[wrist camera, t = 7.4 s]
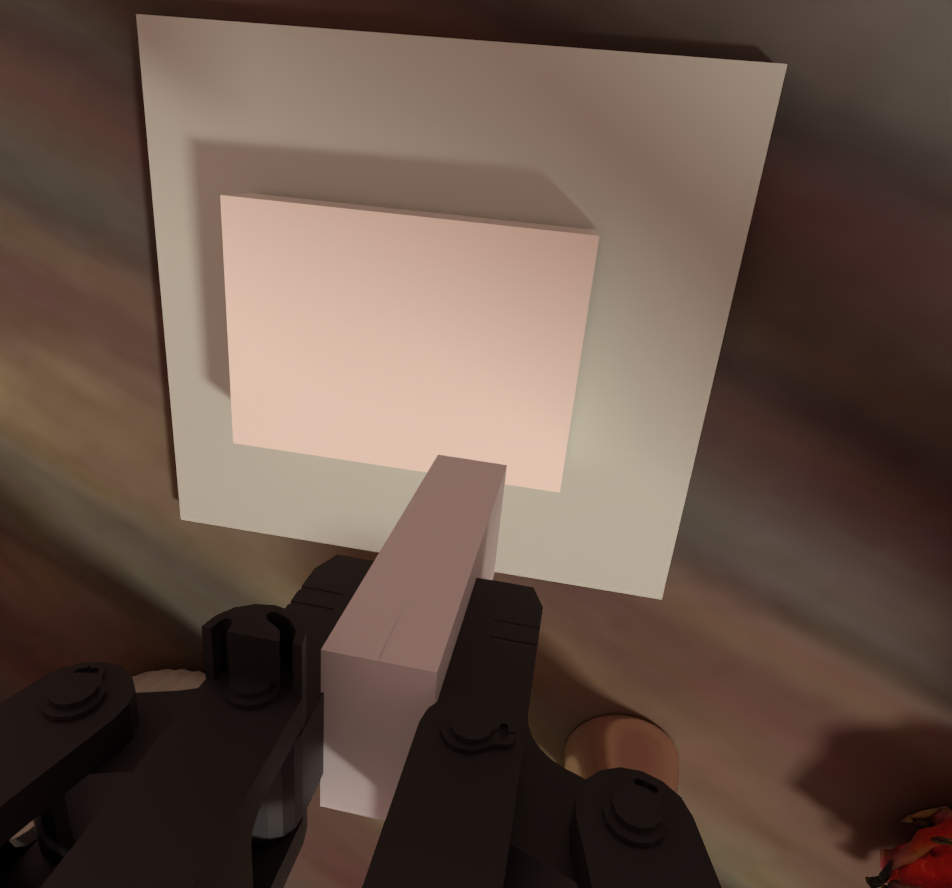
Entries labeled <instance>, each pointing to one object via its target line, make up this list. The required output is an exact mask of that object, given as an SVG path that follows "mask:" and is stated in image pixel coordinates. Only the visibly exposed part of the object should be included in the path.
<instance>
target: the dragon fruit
mask: <svg viewBox="0 0 952 888" xmlns="http://www.w3.org/2000/svg"><path fill="white" fill-rule="evenodd" d="M900 822H905V823H907V822H911V823H913V824H917V825H919V826H921V827H927V828H924V829H920V830H918V831H917V832H916V834H915V835H914V837H913V839H912V840H911V841H910V842H909V843H905V844H902V845H898V846H896V847H894V848H893V849H881V850H880V865H881V869H882V871H881V872H880V874H879V876H876V877H865V878H866V882H867V884H868V885H869V886H870V887H871V888H877V887H880V886H881V888H952V810H950V809H949V807H948V806H941V807H938V808H933V809H926V810H922V811H918V812H917V813H915V814H911V815H908V816H907V817H906V818H904V819H902V820H900ZM884 883H888V885H884ZM882 884H883V885H882Z"/></svg>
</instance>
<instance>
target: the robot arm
mask: <svg viewBox="0 0 952 888" xmlns="http://www.w3.org/2000/svg"><path fill="white" fill-rule="evenodd" d="M506 469H507V465H502V464H496V463H489V462H483V461H476V460H470V459H463V458H457V457H450V456H444V455H438V456H437V457H436V459H435V461H434V462H433V464H432V466H431V467H430V469H429V471H428V472H427V474H426V476H425V477H424V479H423V481H422V482H421V484H420V486H419V487H418V489H417V491H416V492H415V494H414V496H413V497H412V499H411V501H410V502H409V504H408V506H407V507H406V509H405V511H404V512H403V514H402V516H401V517H400V519H399V521H398V522H397V524H396V526H395V527H394V529H393V531H392V532H391V534H390V536H389V537H388V539H387V541H386V542H385V544H384V546H383V547H382V549H381V551H380V552H379V554H378V556H377V557H376V559H375V561H369V560H363V559H357V558H352V557H346V556H341V555H336V556H335V557H333V558H331V559H330V560H328V561H326V562H325V563H323V564H321V565H320V566H318V567H316V568H315V569H314V570H313V572H312V573H311V574H310V576H309V577H308V578H307V580H306V581H305V582H304V584H303V585H302V588H301V590H300V589H299V591H298V592H297V593H296V595H295V596H294V597H293V599H292V600H291V603H290V605H289V604H288V605H287V607H286V608H285V609H284V608H281V607H278V606H275V605H261V604H253V605H247V606H241V607H235V608H232V609H230V610H228V611H225V612H223V613H220V614H218V615H216V616H214V617H213V618H212V619H211V620H209V621H208V622H207V623H206V624H204V625H203V626H202V636H203V649H204V662H205V675H206V679H205V680H204V681H203V683H202V684H201V685H200V686H199V688H194V689H187V690H179V691H159V692H140V693H136V691H135V686H134V681H133V677H132V675H131V674H130V673H129V672H127V671H126V670H125V669H124V668H122V667H121V666H117V665H113V664H109V663H105V662H95V663H81V664H77V665H73V666H69V667H66V668H62V669H59V670H57V671H55V672H53V673H51V674H49V675H47V676H45V677H43V678H41V679H39V680H37V681H35V682H34V683H32V684H31V685H29V686H28V687H26V688H24V689H23V690H21V691H20V692H18V693H17V694H15V695H14V696H12V697H10V698H9V699H7V700H6V701H4V702H3V703H1V704H0V888H283V887H284V885H285V883H286V881H287V878H288V876H289V874H290V872H291V869H292V867H293V865H294V863H295V860H296V858H297V856H298V854H299V852H300V849H301V847H302V845H303V842H304V838H305V834H306V829H307V807H308V805H309V803H310V801H311V798H312V796H313V794H314V792H315V790H316V788H317V786H318V784H319V781H320V806H322V807H326V808H331V809H335V810H340V811H344V812H349V813H353V814H357V815H362V816H366V817H371V818H375V819H379V820H384V821H385V823H384V825H383V828H382V831H381V834H380V837H379V840H378V843H377V846H376V849H375V852H374V855H373V857H372V860H371V863H370V866H369V869H368V872H367V875H366V878H365V881H364V884H363V887H362V888H721V885H720V883H719V880H718V878H717V875H716V873H715V870H714V868H713V865H712V863H711V860H710V858H709V855H708V853H707V850H706V848H705V845H704V843H703V840H702V838H701V836H700V833H699V831H698V828H697V826H696V823H695V821H694V818H693V816H692V815H691V813H690V811H689V810H688V808H687V806H686V805H685V803H684V802H683V800H682V798H681V797H680V796H679V795H678V794H677V793H675V792H674V791H673V790H672V789H671V788H670V787H669V786H668V785H666V784H665V783H664V782H663V781H661V780H659V779H657V778H655V777H653V776H651V775H649V774H647V773H645V772H643V771H639V770H633V769H628V768H622V767H617V768H611V769H605V770H599V771H598V772H596V773H595V774H593V775H592V776H590V777H589V778H587V779H584V778H582V777H580V776H578V775H577V774H575V773H573V772H571V771H569V770H567V769H565V768H563V767H562V766H560V765H559V764H557V763H556V762H554V761H552V760H551V759H550V758H549V757H548V756H547V755H546V754H545V753H544V752H543V751H542V750H541V749H540V748H539V746H538V745H537V743H536V742H535V740H534V739H533V737H532V735H531V732H530V729H529V726H528V708H529V701H530V694H531V687H532V680H533V673H534V666H535V658H536V651H537V644H538V637H539V630H540V623H541V616H542V609H543V607H542V605H541V603H540V601H539V598H538V596H537V594H536V592H535V590H534V588H533V587H527V586H522V585H516V584H510V583H505V582H499V581H493V576H494V570H495V561H496V553H497V544H498V536H499V528H500V519H501V511H502V502H503V494H504V485H505V477H506ZM31 821H33V822H34V826H33V827H32V828H31V829H30V830H28V831H27V832H25V833H23V834H22V835H20V836H18V837H17V838H15V839H11V838H12V837H13V836H14V835H16V834H17V833H18V832H19V831H20V830H22V829H23V828H24V827H25V826H27V825H28V824H29V823H30V822H31Z"/></svg>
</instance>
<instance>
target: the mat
mask: <svg viewBox="0 0 952 888" xmlns="http://www.w3.org/2000/svg"><path fill="white" fill-rule="evenodd" d="M136 20H137V31H138V42H139V54H140V65H141V76H142V87H143V99H144V110H145V121H146V132H147V144H148V155H149V166H150V177H151V189H152V200H153V211H154V223H155V234H156V245H157V256H158V268H159V279H160V290H161V301H162V313H163V324H164V335H165V347H166V358H167V369H168V380H169V392H170V403H171V414H172V425H173V437H174V448H175V459H176V471H177V482H178V493H179V504H180V516H181V520H187V521H193V522H199V523H205V524H211V525H217V526H223V527H229V528H235V529H241V530H247V531H253V532H259V533H265V534H271V535H277V536H283V537H289V538H295V539H301V540H307V541H313V542H319V543H325V544H331V545H337V546H343V547H349V548H355V549H361V550H367V551H373V552H380V551H381V549H382V547H383V546H384V544H385V542H386V541H387V539H388V537H389V536H390V534H391V532H392V531H393V529H394V527H395V526H396V524H397V522H398V521H399V519H400V517H401V516H402V514H403V512H404V511H405V509H406V507H407V506H408V504H409V502H410V501H411V499H412V497H413V496H414V494H415V492H416V491H417V489H418V487H419V486H420V484H421V482H422V481H423V479H424V477H425V476H426V474H427V472H420V471H413V470H407V469H400V468H394V467H387V466H380V465H374V464H367V463H361V462H354V461H347V460H341V459H334V458H328V457H321V456H314V455H308V454H301V453H295V452H288V451H281V450H275V449H268V448H262V447H255V446H248V445H242V444H235V443H233V431H232V412H231V393H230V374H229V355H228V335H227V316H226V297H225V278H224V259H223V240H222V221H221V202H220V195H228V194H246V193H254V194H264V195H273V196H283V197H292V198H301V199H311V200H320V201H329V202H339V203H348V204H357V205H367V206H376V207H385V208H395V209H404V210H413V211H423V212H432V213H441V214H451V215H460V216H470V217H479V218H488V219H498V220H507V221H516V222H526V223H535V224H544V225H554V226H563V227H572V228H582V229H591V230H599V242H598V249H597V255H596V262H595V268H594V275H593V281H592V288H591V294H590V301H589V307H588V314H587V320H586V327H585V333H584V340H583V346H582V353H581V359H580V365H579V372H578V378H577V385H576V391H575V398H574V404H573V411H572V417H571V424H570V430H569V437H568V443H567V450H566V456H565V463H564V469H563V476H562V482H561V489H560V493H559V492H552V491H545V490H539V489H532V488H526V487H519V486H512V485H506V484H505V485H504V494H503V502H502V511H501V519H500V528H499V536H498V544H497V553H496V561H495V570H494V572H499V573H505V574H511V575H517V576H523V577H529V578H535V579H541V580H547V581H553V582H559V583H565V584H571V585H577V586H583V587H589V588H595V589H601V590H607V591H613V592H619V593H625V594H631V595H637V596H643V597H649V598H655V599H661V600H662V596H663V592H664V588H665V584H666V579H667V575H668V571H669V567H670V562H671V558H672V554H673V550H674V545H675V541H676V537H677V533H678V528H679V524H680V520H681V516H682V511H683V507H684V503H685V499H686V494H687V490H688V486H689V482H690V477H691V473H692V469H693V464H694V460H695V456H696V452H697V447H698V443H699V439H700V435H701V430H702V426H703V422H704V418H705V413H706V409H707V405H708V401H709V396H710V392H711V388H712V384H713V379H714V375H715V371H716V367H717V362H718V358H719V354H720V349H721V345H722V341H723V337H724V332H725V328H726V324H727V320H728V315H729V311H730V307H731V303H732V298H733V294H734V290H735V286H736V281H737V277H738V273H739V269H740V264H741V260H742V256H743V252H744V247H745V243H746V239H747V235H748V230H749V226H750V222H751V217H752V213H753V209H754V205H755V200H756V196H757V192H758V188H759V183H760V179H761V175H762V171H763V166H764V162H765V158H766V154H767V149H768V145H769V141H770V137H771V132H772V128H773V124H774V120H775V115H776V111H777V107H778V102H779V98H780V94H781V90H782V85H783V81H784V77H785V73H786V68H787V64H780V63H767V62H754V61H741V60H728V59H715V58H702V57H689V56H676V55H663V54H650V53H637V52H624V51H611V50H598V49H585V48H572V47H559V46H546V45H533V44H520V43H507V42H494V41H481V40H468V39H455V38H442V37H429V36H416V35H403V34H390V33H377V32H364V31H351V30H338V29H325V28H312V27H299V26H286V25H273V24H260V23H247V22H234V21H221V20H208V19H195V18H182V17H169V16H156V15H143V14H136Z"/></svg>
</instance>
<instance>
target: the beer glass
mask: <svg viewBox="0 0 952 888" xmlns="http://www.w3.org/2000/svg"><path fill="white" fill-rule="evenodd" d="M564 766H565V769H567V770H569V771H571V772H573V773H575V774H577V775H578V776H580V777H582V778H584V779H587V778H589V777H590V776H592V775H593V774H595V773H596V772H598V771H599V770H605V769H611V768H617V767H622V768H628V769H633V770H639V771H643V772H645V773H647V774H649V775H651V776H653V777H655V778H657V779H659V780H661V781H663V782H664V783H665V784H666V785H668V786H669V787H670V788H671V789H672V790H673V791H674V792H675V793H677V792H678V781H679V757H678V753H677V750H676V748H675V746H674V744H673V742H672V741H671V739H670V738H669V737H668V736H667V735H666V734H665V733H664V732H663V731H662V730H661V729H660V728H658V727H657V726H655V725H654V724H652V723H650V722H648V721H645V720H643V719H640V718H637V717H633V716H627V715H606V716H600V717H597V718H593V719H591V720H589V721H586V722H585V723H583V724H581V725H580V726H579V727H577V728H576V729H575V730H574V731H573V732H572V734H571V735H570V736H569V738H568V740H567V742H566V745H565V749H564Z"/></svg>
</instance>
